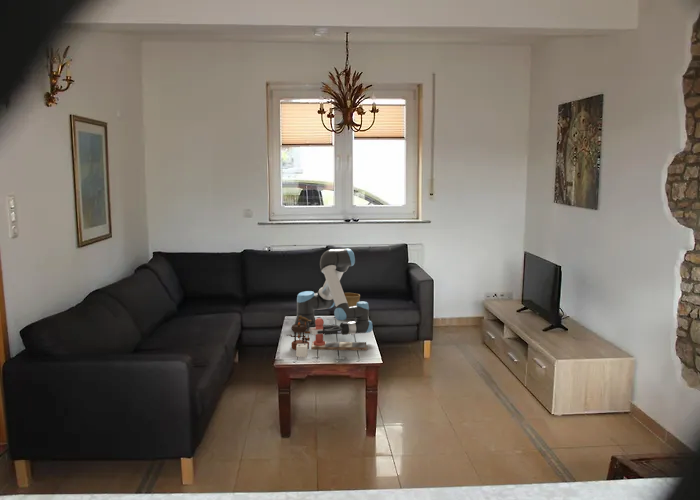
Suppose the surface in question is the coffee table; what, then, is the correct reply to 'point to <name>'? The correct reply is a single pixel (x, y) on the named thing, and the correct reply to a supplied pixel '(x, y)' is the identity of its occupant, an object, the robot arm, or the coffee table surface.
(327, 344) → the board
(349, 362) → the coffee table surface
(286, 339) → the coffee table surface
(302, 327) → the music box
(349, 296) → the plant pot
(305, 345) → the die
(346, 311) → the robot arm
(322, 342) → the pawn
